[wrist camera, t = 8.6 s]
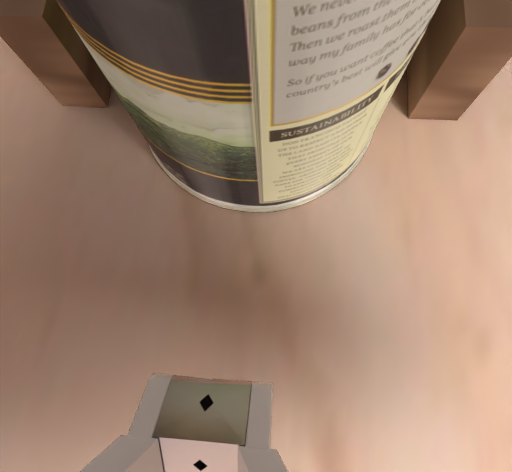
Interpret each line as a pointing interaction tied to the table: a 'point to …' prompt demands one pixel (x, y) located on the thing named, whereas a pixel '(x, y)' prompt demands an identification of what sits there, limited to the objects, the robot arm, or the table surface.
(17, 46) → the walnut rail
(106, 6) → the coffee can
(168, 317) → the table surface
